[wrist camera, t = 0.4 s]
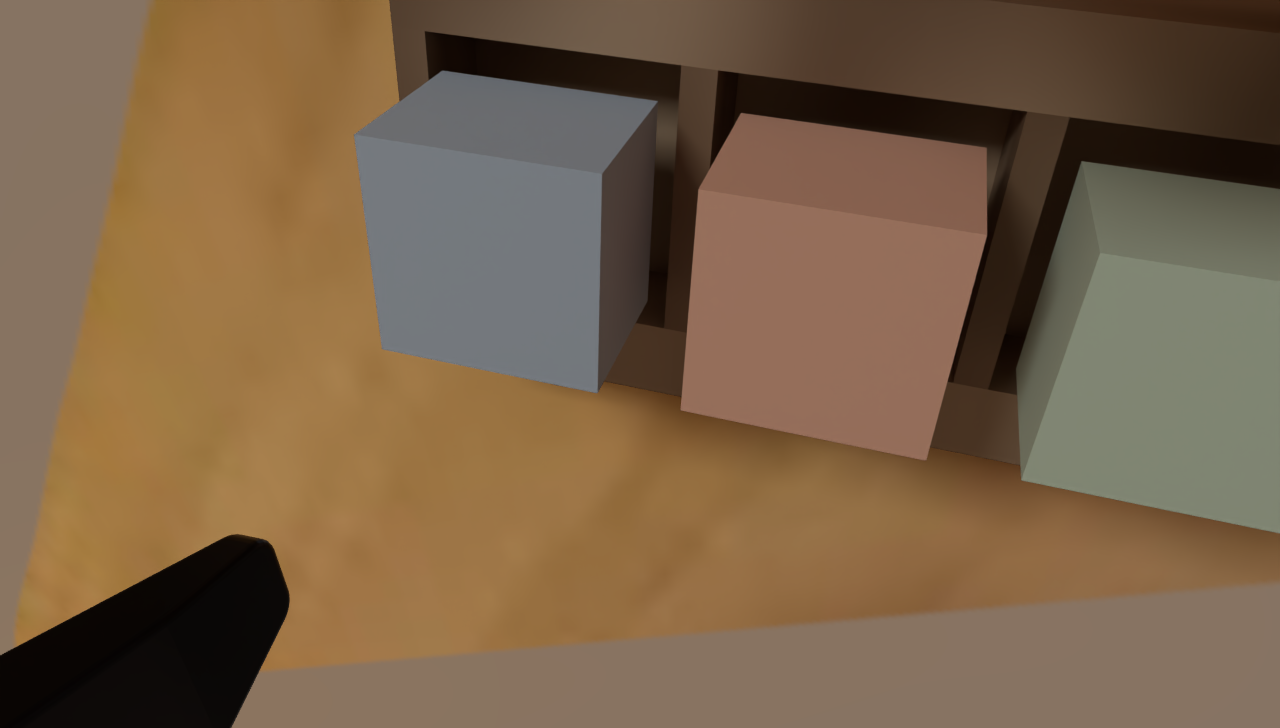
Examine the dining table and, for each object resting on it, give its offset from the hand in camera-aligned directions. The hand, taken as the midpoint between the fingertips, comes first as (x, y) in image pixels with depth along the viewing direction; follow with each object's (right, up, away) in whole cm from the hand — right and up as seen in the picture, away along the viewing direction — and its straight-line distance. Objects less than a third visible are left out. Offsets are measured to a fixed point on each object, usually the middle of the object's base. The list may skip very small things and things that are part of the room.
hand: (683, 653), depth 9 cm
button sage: (+8, +4, +6) cm, 11 cm away
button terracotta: (+3, +5, +7) cm, 9 cm away
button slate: (-2, +6, +8) cm, 10 cm away
